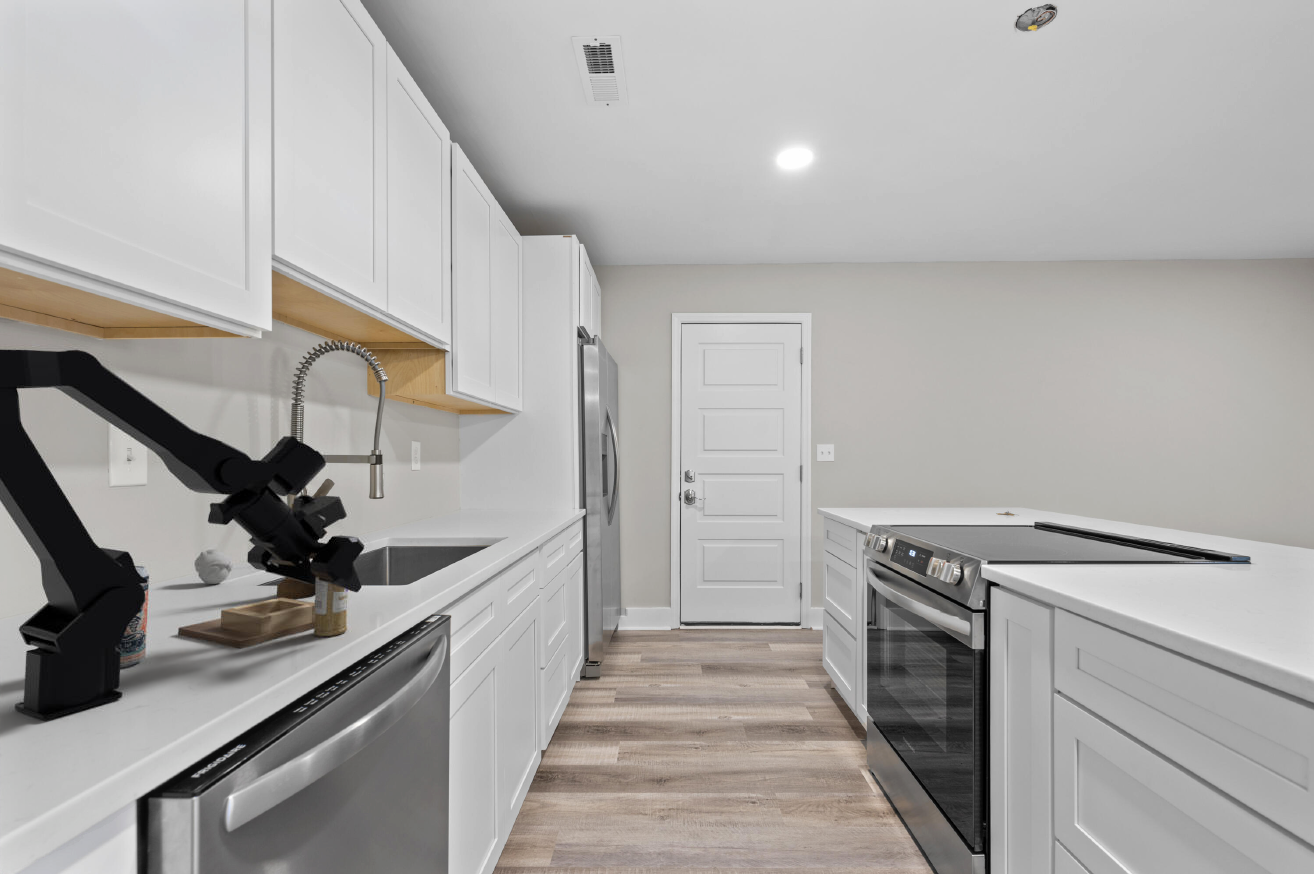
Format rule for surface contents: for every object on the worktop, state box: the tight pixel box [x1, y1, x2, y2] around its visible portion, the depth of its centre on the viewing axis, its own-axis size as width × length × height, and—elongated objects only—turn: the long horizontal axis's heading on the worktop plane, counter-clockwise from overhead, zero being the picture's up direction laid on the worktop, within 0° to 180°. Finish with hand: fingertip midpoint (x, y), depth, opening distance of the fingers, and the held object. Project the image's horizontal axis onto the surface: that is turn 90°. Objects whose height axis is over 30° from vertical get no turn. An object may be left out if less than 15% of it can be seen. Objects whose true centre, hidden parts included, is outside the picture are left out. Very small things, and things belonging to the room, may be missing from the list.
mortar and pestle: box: [276, 503, 315, 600], centre depth 115 cm, size 7×6×18 cm
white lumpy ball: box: [194, 548, 233, 585], centre depth 124 cm, size 6×7×7 cm
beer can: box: [116, 565, 150, 669], centre depth 76 cm, size 5×5×12 cm
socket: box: [177, 597, 315, 649], centre depth 93 cm, size 15×14×4 cm
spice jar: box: [313, 576, 349, 637], centre depth 91 cm, size 5×5×14 cm
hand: (340, 586), depth 93 cm, fingers open, 8 cm apart
